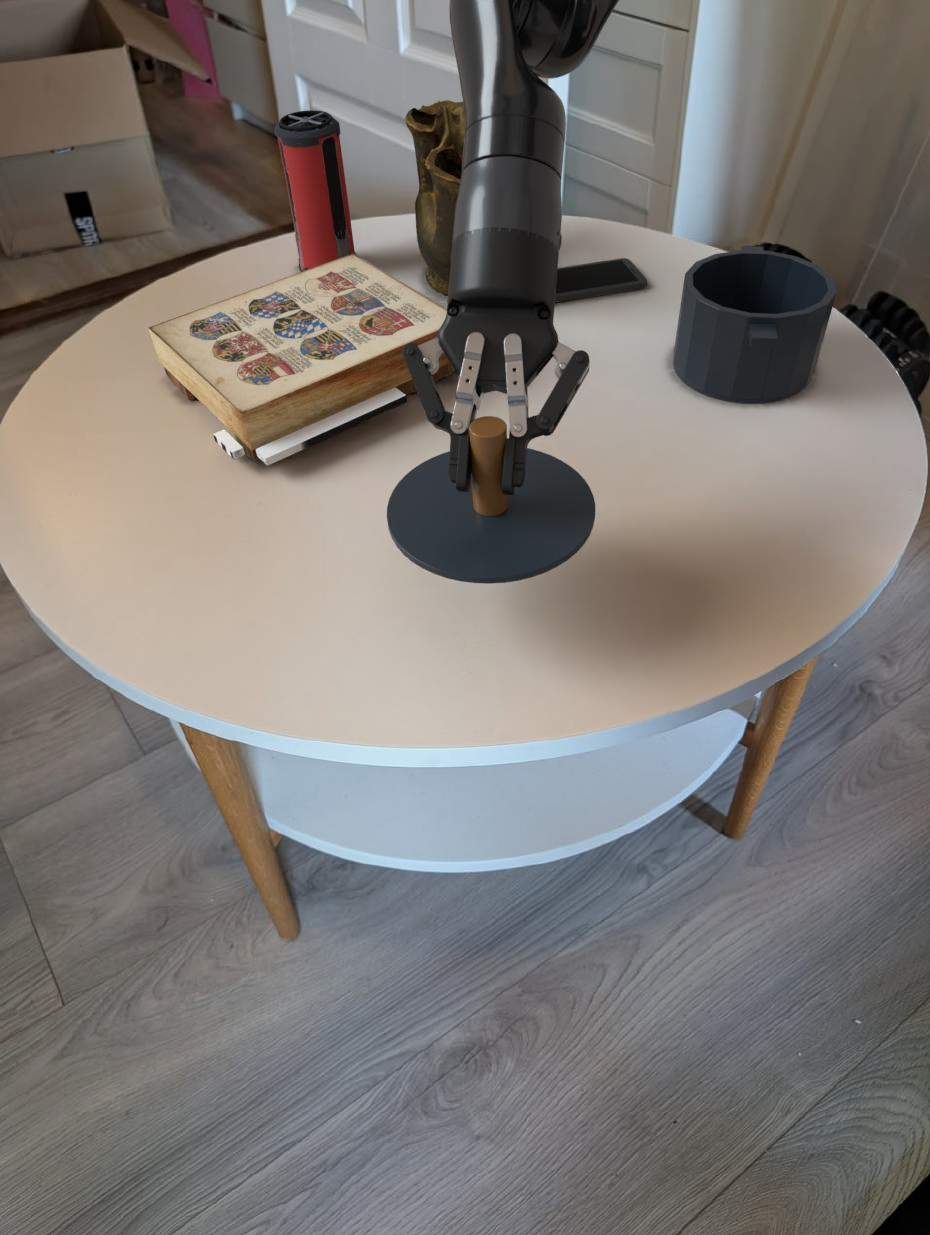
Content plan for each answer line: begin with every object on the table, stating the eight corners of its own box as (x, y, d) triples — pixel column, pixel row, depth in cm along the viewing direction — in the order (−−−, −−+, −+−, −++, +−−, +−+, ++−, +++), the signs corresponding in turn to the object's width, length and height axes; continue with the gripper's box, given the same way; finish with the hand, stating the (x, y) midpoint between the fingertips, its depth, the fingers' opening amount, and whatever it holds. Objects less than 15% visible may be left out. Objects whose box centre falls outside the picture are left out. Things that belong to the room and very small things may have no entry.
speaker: (328, 286, 112) (304, 133, 99) (287, 271, 115) (258, 122, 102) (369, 264, 116) (351, 114, 103) (328, 250, 119) (306, 103, 106)
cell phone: (524, 278, 111) (524, 272, 110) (627, 262, 113) (628, 256, 112) (541, 304, 106) (541, 298, 105) (649, 287, 108) (650, 281, 107)
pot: (802, 324, 100) (823, 241, 94) (822, 422, 87) (848, 334, 80) (673, 318, 103) (684, 237, 96) (672, 414, 89) (686, 327, 82)
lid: (600, 462, 70) (607, 371, 64) (587, 598, 60) (594, 505, 54) (411, 451, 73) (401, 362, 67) (366, 580, 62) (350, 488, 56)
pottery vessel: (404, 241, 120) (390, 78, 106) (481, 232, 122) (477, 68, 107) (437, 328, 103) (425, 147, 89) (526, 316, 104) (529, 135, 90)
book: (253, 490, 83) (483, 384, 94) (237, 435, 79) (481, 329, 90) (150, 386, 97) (360, 304, 108) (131, 333, 93) (353, 253, 104)
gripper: (396, 220, 59) (376, 479, 59) (606, 225, 57) (583, 492, 57) (419, 263, 66) (400, 492, 67) (605, 268, 64) (585, 504, 65)
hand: (485, 491), depth 62 cm, fingers closed on lid, 2 cm apart
